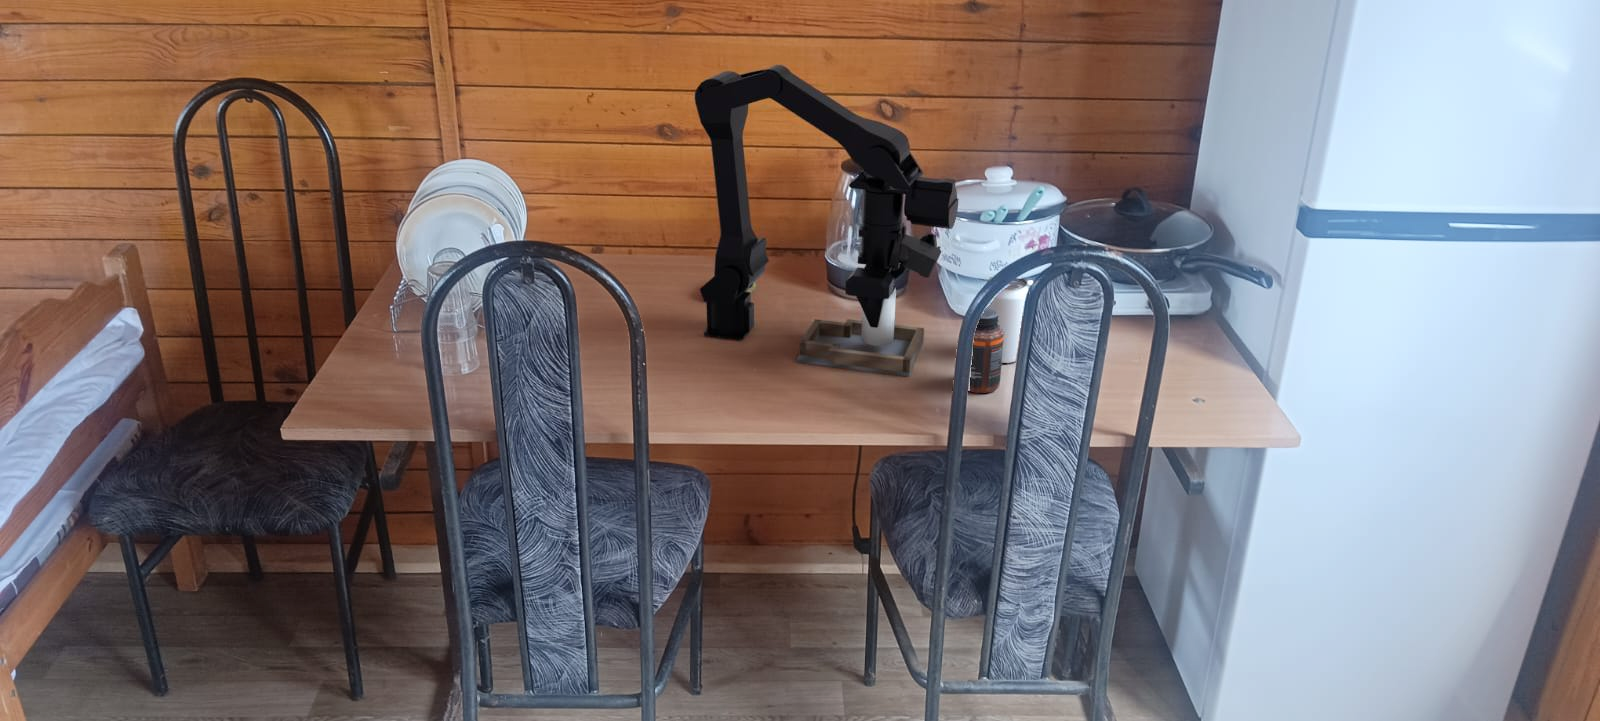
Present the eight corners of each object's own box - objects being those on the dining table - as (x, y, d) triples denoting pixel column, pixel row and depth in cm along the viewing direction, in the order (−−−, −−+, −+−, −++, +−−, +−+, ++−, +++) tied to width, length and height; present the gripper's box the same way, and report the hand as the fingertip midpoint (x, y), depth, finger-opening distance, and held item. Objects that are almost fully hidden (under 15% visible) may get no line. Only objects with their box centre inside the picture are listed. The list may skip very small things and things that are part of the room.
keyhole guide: (796, 362, 170) (797, 346, 169) (817, 330, 180) (817, 315, 179) (909, 376, 166) (910, 360, 165) (923, 343, 177) (924, 328, 175)
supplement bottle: (1003, 380, 165) (1010, 307, 161) (995, 397, 160) (1002, 323, 156) (962, 373, 167) (967, 301, 162) (953, 391, 162) (958, 317, 157)
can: (1022, 366, 169) (1029, 291, 164) (977, 362, 171) (984, 287, 166) (1023, 349, 175) (1031, 275, 170) (980, 345, 176) (986, 271, 171)
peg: (858, 343, 170) (860, 293, 167) (865, 330, 174) (867, 281, 171) (890, 347, 169) (892, 297, 166) (896, 334, 173) (898, 285, 170)
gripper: (927, 246, 154) (920, 352, 160) (948, 205, 170) (941, 303, 177) (846, 238, 156) (842, 343, 163) (874, 198, 173) (870, 295, 179)
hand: (877, 320), depth 170 cm, fingers closed on peg, 5 cm apart
